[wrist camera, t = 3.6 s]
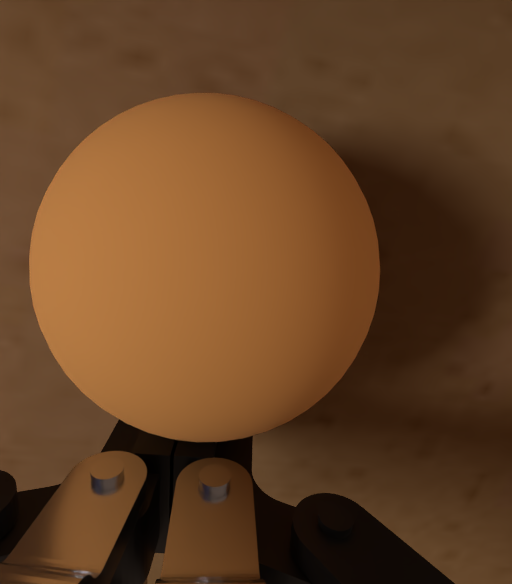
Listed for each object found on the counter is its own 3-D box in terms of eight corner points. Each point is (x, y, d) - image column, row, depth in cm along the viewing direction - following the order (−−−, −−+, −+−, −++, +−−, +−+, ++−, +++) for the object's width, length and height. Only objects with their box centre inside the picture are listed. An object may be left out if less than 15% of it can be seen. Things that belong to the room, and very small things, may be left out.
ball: (119, 187, 11) (-13, -26, 6) (339, 202, 11) (439, 7, 6) (85, 418, 10) (-139, 459, 4) (335, 433, 10) (461, 494, 4)
